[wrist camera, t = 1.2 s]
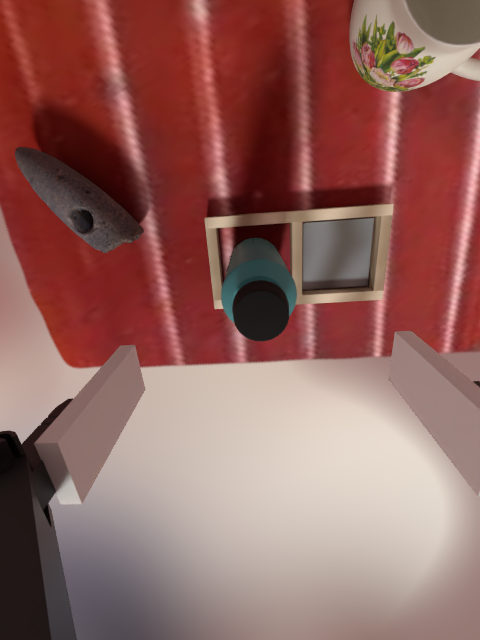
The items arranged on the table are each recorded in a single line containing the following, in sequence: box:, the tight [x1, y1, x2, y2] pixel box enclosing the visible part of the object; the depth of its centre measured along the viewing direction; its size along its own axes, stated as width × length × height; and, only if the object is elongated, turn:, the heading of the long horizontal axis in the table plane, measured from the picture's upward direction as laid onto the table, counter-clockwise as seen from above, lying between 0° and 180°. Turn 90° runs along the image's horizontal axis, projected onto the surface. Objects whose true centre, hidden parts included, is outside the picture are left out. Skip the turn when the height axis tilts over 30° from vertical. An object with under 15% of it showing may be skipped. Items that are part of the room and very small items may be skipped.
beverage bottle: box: [221, 238, 297, 341], centre depth 29 cm, size 6×7×20 cm
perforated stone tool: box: [15, 147, 144, 253], centre depth 33 cm, size 15×5×7 cm, turn 46°
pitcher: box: [349, 0, 480, 92], centre depth 23 cm, size 11×18×14 cm, turn 63°
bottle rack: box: [205, 204, 394, 309], centre depth 37 cm, size 22×11×2 cm, turn 94°
